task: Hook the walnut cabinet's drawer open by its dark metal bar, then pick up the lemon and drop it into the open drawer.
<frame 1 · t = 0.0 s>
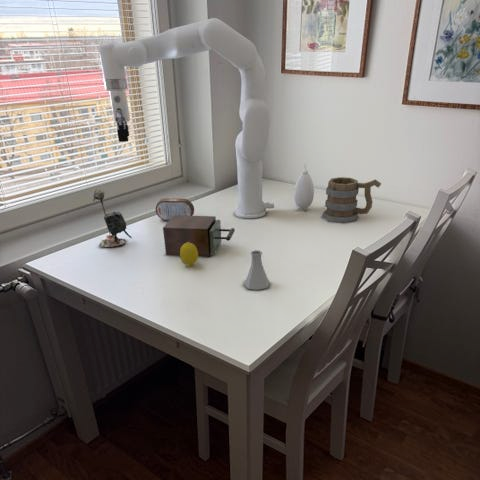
hand: (124, 138, 164), 31 cm above the table, tool pointing down, fingers open, 9 cm apart
drawer: (205, 236, 154), point 5 cm above the table, slide at 0.5 cm
flask: (256, 285, 133), on the table
tin: (175, 220, 183), on the table
tankard: (349, 218, 178), on the table
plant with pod: (116, 244, 163), on the table
cabinet: (192, 249, 157), on the table
lemon: (190, 266, 145), on the table
air blower bulb: (303, 209, 189), on the table
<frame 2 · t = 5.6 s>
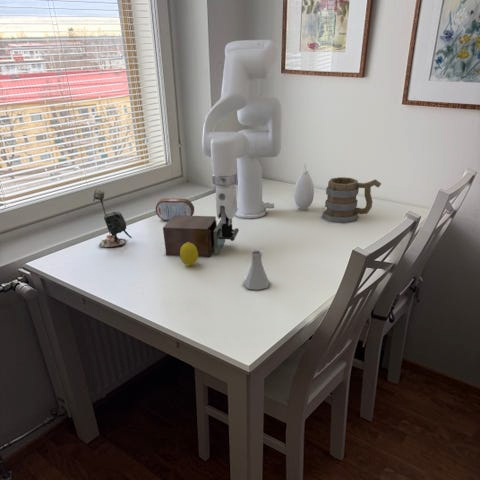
hand: (227, 236, 152), 5 cm above the table, tool pointing down, fingers closed
drawer: (208, 236, 153), point 5 cm above the table, slide at 1.8 cm
everything else where it was.
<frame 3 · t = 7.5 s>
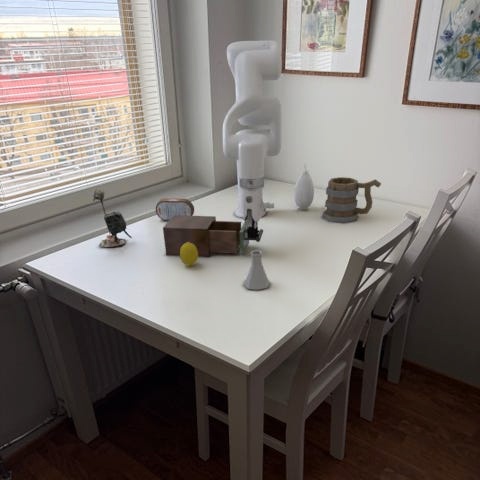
hand: (252, 238, 151), 4 cm above the table, tool pointing down, fingers closed
drawer: (233, 237, 152), point 5 cm above the table, slide at 10.2 cm, touching gripper
everything else where it was.
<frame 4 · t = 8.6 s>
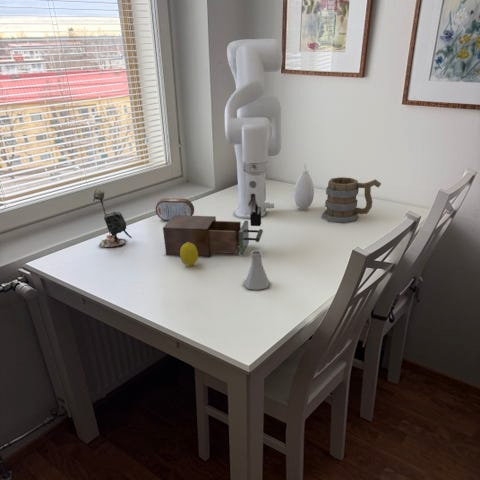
hand: (255, 225, 149), 9 cm above the table, tool pointing down, fingers closed
drawer: (233, 237, 152), point 5 cm above the table, slide at 10.0 cm
everything else where it was.
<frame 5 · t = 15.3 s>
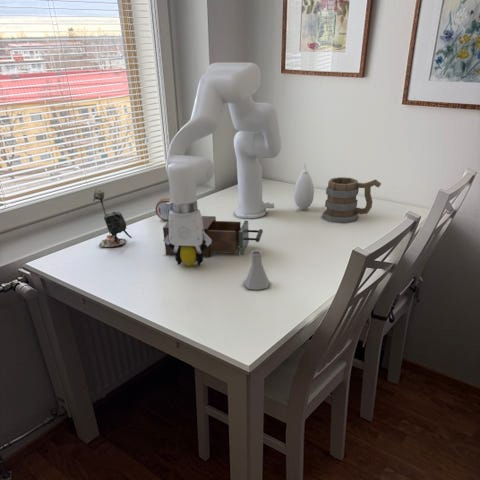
hand: (189, 262, 144), 1 cm above the table, tool pointing down, fingers closed on lemon, 5 cm apart
lemon: (190, 266, 145), on the table, touching gripper
everything else where it was.
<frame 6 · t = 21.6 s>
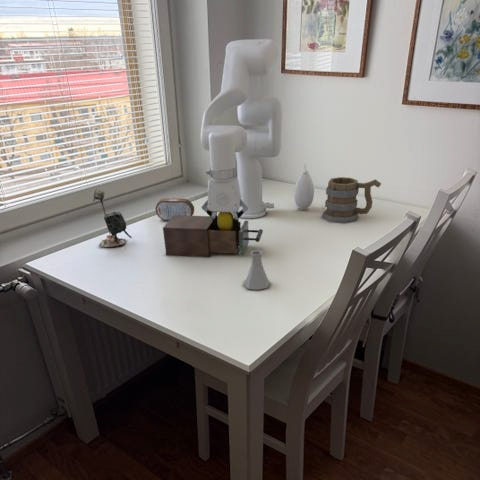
hand: (226, 229, 151), 7 cm above the table, tool pointing down, fingers closed on lemon, 5 cm apart
lemon: (226, 233, 152), point 6 cm above the table, touching gripper
everything else where it was.
when the fingers open (10 cm above the table, at t = 36.5 s): lemon drops 6 cm, resting on drawer.
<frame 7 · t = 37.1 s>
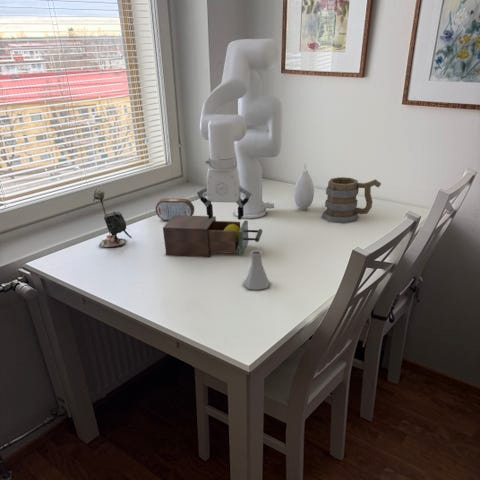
hand: (225, 217, 149), 11 cm above the table, tool pointing down, fingers open, 9 cm apart
drawer: (232, 237, 152), point 5 cm above the table, slide at 9.9 cm, touching lemon
lemon: (226, 243, 153), point 3 cm above the table, touching drawer
everything else where it was.
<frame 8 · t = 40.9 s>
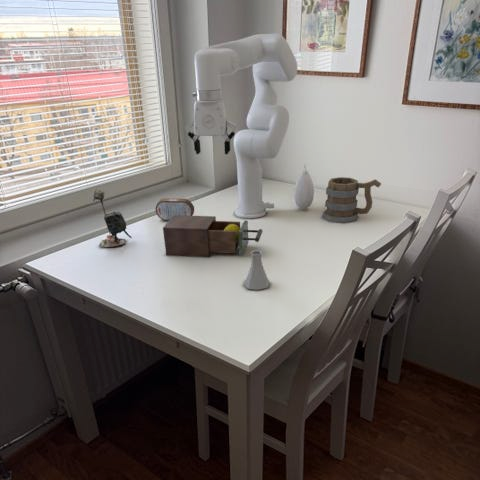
hand: (212, 153, 153), 28 cm above the table, tool pointing down, fingers open, 9 cm apart
nothing on the table moved.
at the end: drawer slide at 9.9 cm; lemon inside the target area (0.1 cm from its centre), point 2.6 cm above the table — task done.
